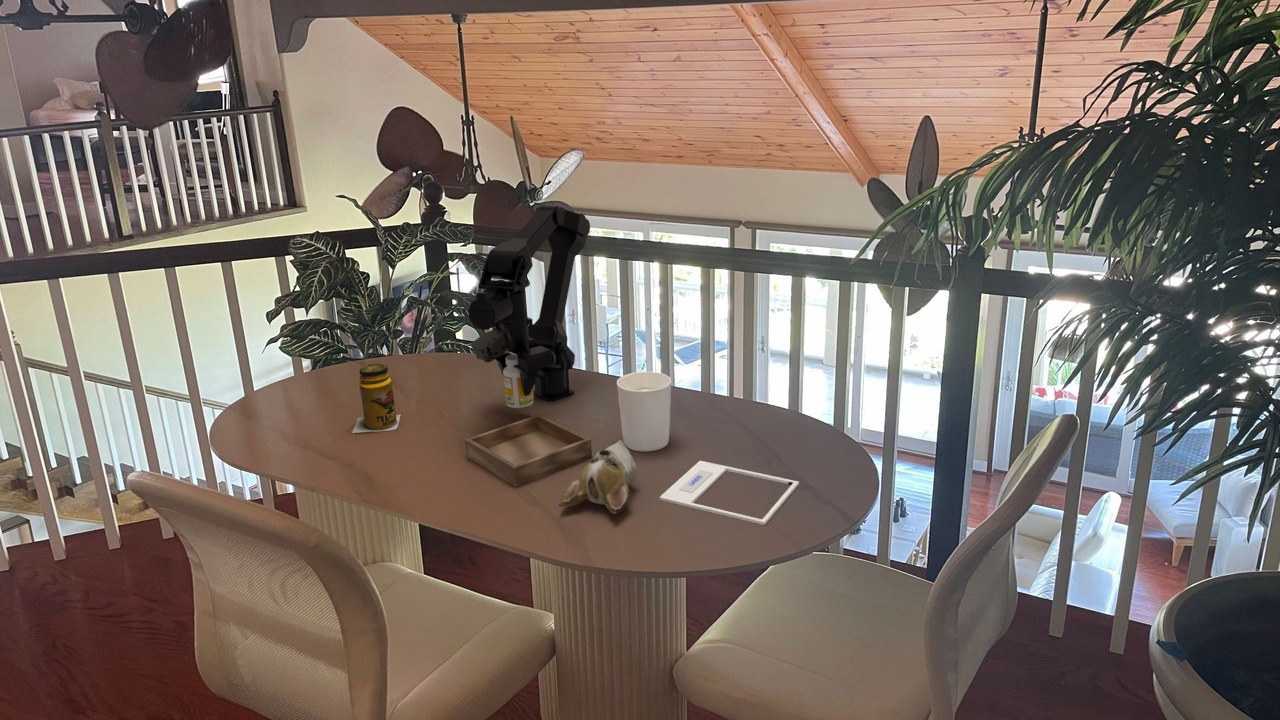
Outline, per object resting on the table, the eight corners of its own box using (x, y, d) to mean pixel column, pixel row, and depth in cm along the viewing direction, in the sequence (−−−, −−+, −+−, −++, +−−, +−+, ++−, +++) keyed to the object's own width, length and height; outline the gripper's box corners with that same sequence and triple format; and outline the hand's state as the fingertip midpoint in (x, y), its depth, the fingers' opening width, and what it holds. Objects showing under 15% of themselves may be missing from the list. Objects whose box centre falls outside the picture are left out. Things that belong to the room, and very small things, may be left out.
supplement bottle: (536, 398, 178) (532, 351, 174) (530, 408, 172) (526, 361, 169) (509, 398, 178) (505, 352, 175) (503, 408, 173) (498, 361, 170)
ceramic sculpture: (650, 434, 145) (615, 480, 133) (653, 481, 149) (620, 530, 136) (590, 427, 149) (551, 471, 136) (595, 473, 153) (557, 520, 140)
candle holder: (609, 448, 162) (606, 386, 158) (635, 427, 170) (632, 368, 166) (658, 457, 157) (656, 394, 153) (682, 436, 166) (680, 375, 162)
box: (540, 431, 170) (539, 414, 169) (592, 457, 158) (591, 439, 157) (466, 457, 160) (464, 439, 159) (516, 487, 149) (514, 468, 148)
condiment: (396, 430, 173) (388, 372, 169) (351, 434, 172) (342, 375, 168) (401, 415, 180) (393, 359, 176) (357, 419, 179) (349, 363, 175)
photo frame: (699, 459, 155) (799, 480, 146) (699, 465, 155) (798, 486, 146) (659, 496, 143) (764, 521, 134) (659, 502, 143) (764, 527, 134)
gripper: (449, 314, 171) (458, 390, 176) (502, 334, 158) (510, 416, 163) (499, 302, 178) (506, 375, 183) (554, 320, 164) (559, 399, 170)
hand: (518, 391), depth 174 cm, fingers closed on supplement bottle, 5 cm apart
